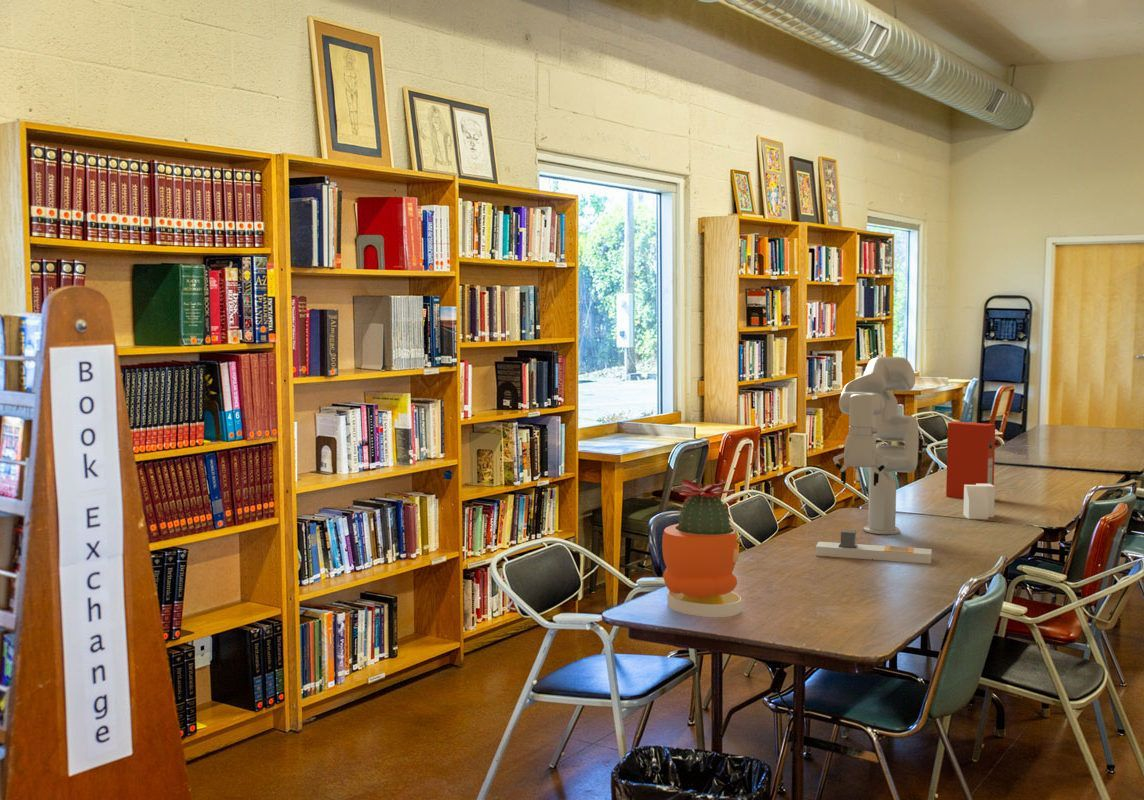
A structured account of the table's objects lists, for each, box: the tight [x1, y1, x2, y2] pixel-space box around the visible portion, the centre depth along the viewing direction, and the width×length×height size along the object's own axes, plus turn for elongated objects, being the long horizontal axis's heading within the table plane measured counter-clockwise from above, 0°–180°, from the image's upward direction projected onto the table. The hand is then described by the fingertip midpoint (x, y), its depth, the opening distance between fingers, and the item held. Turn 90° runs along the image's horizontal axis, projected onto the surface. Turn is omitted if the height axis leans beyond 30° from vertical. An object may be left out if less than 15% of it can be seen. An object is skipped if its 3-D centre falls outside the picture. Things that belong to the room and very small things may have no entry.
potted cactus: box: [661, 479, 742, 618], centre depth 292 cm, size 22×22×35 cm
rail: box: [815, 541, 933, 565], centre depth 355 cm, size 8×36×3 cm, turn 71°
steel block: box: [840, 529, 857, 548], centre depth 357 cm, size 4×4×8 cm
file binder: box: [945, 421, 996, 500], centre depth 463 cm, size 8×17×32 cm, turn 47°
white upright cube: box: [962, 483, 996, 520], centre depth 423 cm, size 11×11×12 cm
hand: (859, 484), depth 353 cm, fingers open, 9 cm apart
